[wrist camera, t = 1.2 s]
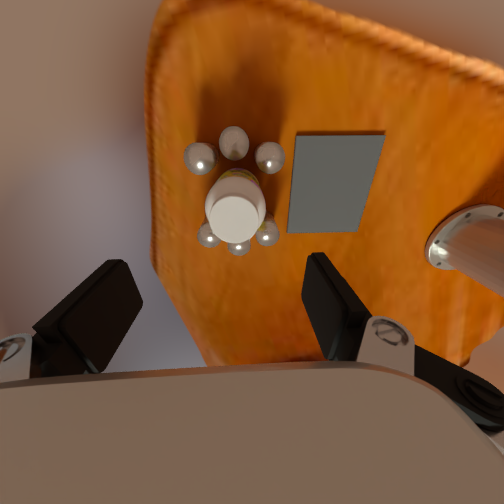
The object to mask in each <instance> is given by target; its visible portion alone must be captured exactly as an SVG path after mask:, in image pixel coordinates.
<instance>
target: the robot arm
mask: <svg viewBox="0 0 504 504" xmlns="http://www.w3.org/2000/svg"><path fill="white" fill-rule="evenodd" d="M425 257H426V259H427V261H428V262H429V263H430V264H431V265H433V266H434V267H436V268H439V269H443V270H452V269H457V270H459V271H460V272H462V273H464V274H465V275H467V276H469V277H470V278H472V279H474V280H475V281H477V282H479V283H480V284H482V285H484V286H485V287H487V288H489V289H490V290H492V291H494V292H495V293H497V294H499V295H500V296H502V297H504V209H502V208H500V207H497V206H494V205H489V204H480V205H475V206H471V207H468V208H465V209H463V210H461V211H459V212H457V213H455V214H453V215H452V216H450V217H449V218H447V219H446V220H445V221H444V222H442V223H441V224H440V225H439V226H438V227H437V228H436V229H435V231H434V232H433V233H432V235H431V236H430V238H429V240H428V242H427V245H426V248H425ZM301 297H302V301H303V304H304V306H305V309H306V311H307V314H308V317H309V319H310V322H311V324H312V327H313V329H314V332H315V335H316V337H317V340H318V342H319V345H320V348H321V350H322V353H323V355H324V357H325V359H329V361H314V362H287V363H268V364H249V365H231V366H213V367H196V368H179V369H162V370H146V371H130V372H113V373H101V372H103V371H104V370H105V369H106V367H107V365H108V364H109V362H110V360H111V359H112V357H113V355H114V353H115V352H116V350H117V349H118V347H119V345H120V343H121V342H122V340H123V338H124V337H125V335H126V333H127V332H128V330H129V328H130V327H131V325H132V323H133V322H134V320H135V318H136V316H137V315H138V313H139V311H140V310H141V308H142V306H143V300H142V298H141V295H140V293H139V290H138V288H137V286H136V283H135V281H134V278H133V276H132V274H131V271H130V269H129V267H128V264H127V263H126V262H124V261H123V260H121V259H112V260H107V261H105V262H104V263H103V264H102V265H101V266H100V267H99V268H98V269H97V270H95V271H94V272H93V273H92V274H91V275H90V276H89V277H88V278H86V279H85V280H84V281H83V282H82V283H81V284H80V285H79V286H77V287H76V288H75V289H74V290H73V291H72V292H71V293H70V294H68V295H67V296H66V297H65V298H64V299H63V300H62V301H61V302H60V303H58V304H57V305H56V306H55V307H54V308H53V309H52V310H51V311H50V312H48V313H47V314H46V315H45V316H44V317H43V318H42V319H40V320H39V321H38V322H37V323H36V324H35V325H34V326H33V327H32V328H33V329H34V330H35V331H36V332H37V333H36V334H35V335H34V336H33V337H32V336H31V335H29V334H27V333H26V334H25V333H21V334H16V335H12V336H9V337H6V338H4V339H2V340H0V504H504V394H503V393H502V392H501V391H499V389H497V388H496V387H495V386H493V385H492V384H491V383H489V382H488V381H486V380H484V379H483V378H481V377H479V376H477V375H475V374H473V373H471V372H469V371H467V370H465V369H463V368H461V367H459V366H457V365H455V364H453V363H451V362H449V361H447V360H445V359H443V358H441V357H439V356H437V355H435V354H433V353H431V352H429V351H427V350H425V349H423V348H421V347H419V346H417V345H415V343H414V338H413V336H412V335H411V333H410V332H409V331H408V330H407V329H406V328H405V327H404V326H403V325H402V324H400V323H399V322H397V321H395V320H393V319H391V318H388V317H384V316H372V315H371V313H370V312H369V311H368V309H367V308H366V307H365V305H364V304H363V303H362V301H361V300H360V299H359V297H358V296H357V295H356V294H355V292H354V291H353V290H352V288H351V287H350V286H349V284H348V283H347V282H346V280H345V279H344V278H343V277H342V276H341V275H340V273H339V272H338V271H337V269H336V268H335V267H334V265H333V264H332V263H331V261H330V260H329V259H328V257H327V256H326V255H325V253H323V252H317V253H312V254H311V255H309V256H308V258H307V263H306V269H305V275H304V281H303V287H302V293H301Z"/></svg>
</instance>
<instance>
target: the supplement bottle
mask: <svg viewBox="0 0 504 504" xmlns="http://www.w3.org/2000/svg"><path fill="white" fill-rule="evenodd" d="M205 212H206V216H207V218H208V221H209V223H210V227H211V229H212V231H213V232H214V234H215V235H216V236H217V237H219V238H220V239H221V240H223V241H226V242H229V243H241V242H244V241H246V240H248V239H250V238H251V237H252V236H253V235H254V234H255V232H256V231H257V229H258V228H259V227H260V225H261V224H262V222H263V220H264V217H265V213H266V203H265V199H264V196H263V193H262V190H261V187H260V184H259V182H258V180H257V178H256V177H255V176H254V175H253V174H252V173H251V172H250V171H248V170H246V169H242V168H233V169H229V170H227V171H226V172H224V173H223V174H222V175H221V176H220V177H219V179H218V180H217V181H216V182H215V184H214V185H213V186H212V188H211V189H210V191H209V193H208V195H207V197H206V201H205Z"/></svg>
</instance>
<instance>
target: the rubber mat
mask: <svg viewBox="0 0 504 504" xmlns="http://www.w3.org/2000/svg"><path fill="white" fill-rule="evenodd" d="M385 137H386V135H352V136H296V138H295V149H294V160H293V170H292V181H291V192H290V202H289V213H288V224H287V233H318V232H357V230H358V227H359V224H360V220H361V217H362V213H363V210H364V207H365V203H366V200H367V197H368V193H369V190H370V187H371V183H372V180H373V177H374V173H375V170H376V167H377V163H378V160H379V157H380V153H381V150H382V147H383V143H384V140H385Z"/></svg>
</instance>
